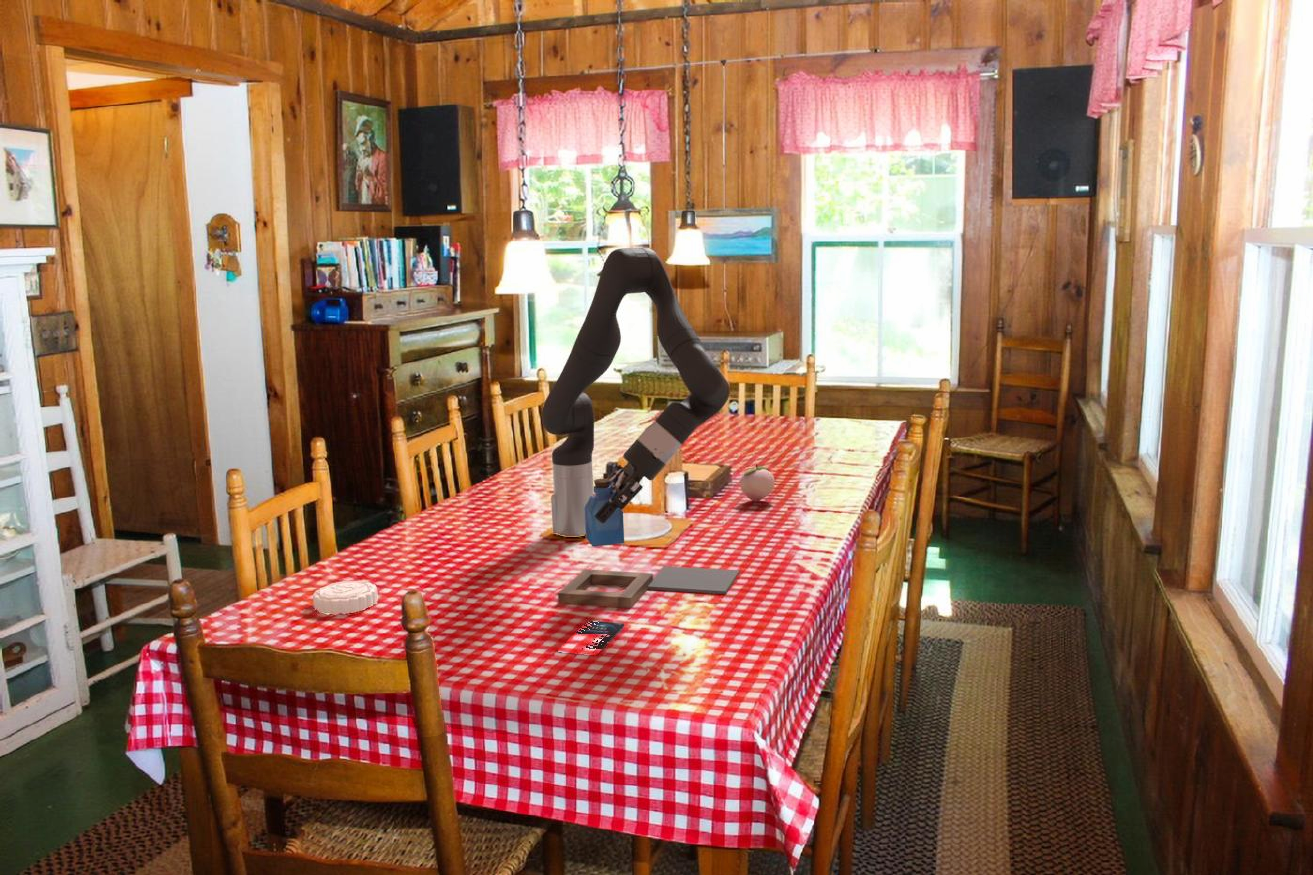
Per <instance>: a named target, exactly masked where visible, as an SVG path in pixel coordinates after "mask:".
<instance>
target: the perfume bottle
mask: <svg viewBox="0 0 1313 875" xmlns="http://www.w3.org/2000/svg"><path fill="white" fill-rule="evenodd" d="M593 484H594V485H593V492H594V494H595V495H594V496H590V498H589V500H588V502H587V504H586V506H585V525H586V536H585V539H586V540H587V541H588V542H589V544H590V545H591V546H592V547H593V548H594V547H603V546H612V545H619V544H621V545H622V544H625V528H624V524H625V523H624V512H623V509H622V510H621V509H618V510H617V509H616V510H615V511H614V513H613V514H612V515H611V516H610V517H609V518H608V519H607V521H606V522H605V523H601V522H600V521H599V520H597V519H596V517H595V515H596V514H597V512H598V511H599V510H600V509H601V508H602V507H603V506H604V504H605V503H606V502H608V500H609V498H610V497H611V494H610V492H611V491H612V489H611V485H610V479H607V478H596V479H593ZM608 503H609V502H608Z"/></svg>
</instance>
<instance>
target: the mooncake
mask: <svg viewBox="0 0 1313 875" xmlns="http://www.w3.org/2000/svg"><path fill="white" fill-rule="evenodd" d="M312 601H313V602H312V603H313V608H314V607H315V609H314V611H315V610H316V609H317V610H318V611H319V612H324V613H332V614H339V613H342V614H346V613H350V612H351V613H353V612H357V611H361V610H365V609H366V608H368V607H371V606H373V604H376V605H377V604H378V602H379V596H378V588H377V586H376V584H373V583H371V582H369V581H363V580H352V581H351V580H347V581H346V580H342V581H339V582H333V583H330V584H328V585H326V586H323V587H320V588H318V589H317V590H315V591H314V593H313V594H312ZM377 601H378V602H377ZM373 607H374V606H373Z"/></svg>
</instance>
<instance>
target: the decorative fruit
mask: <svg viewBox="0 0 1313 875" xmlns="http://www.w3.org/2000/svg"><path fill="white" fill-rule="evenodd" d="M755 465H756V466H755V468H749V469H746V470H745V471H744V473H743V474H742V475H741V477H740V479H739V487H740V490H741V492H742V494H744V495H745V496H746V497H747V498H748V499H750V500H751V501H752V502H755V503H759V502H760V501H761V500H763V499H765V498H767V497H768V496H769V495H770V494H772V492H773V491H774V489H775V477H774V475H773V473H772V472H770V470H769V468H768V467H766V466H758V464H757V463H756V464H755Z"/></svg>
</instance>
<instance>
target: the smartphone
mask: <svg viewBox="0 0 1313 875" xmlns="http://www.w3.org/2000/svg"><path fill="white" fill-rule="evenodd" d="M588 621H589V622H590V623H592V624H590V623H588V622H587V621H586V622H587V623H588V624H590V625H591V626H592V627H590V626H587V624H586V623H585V622H584V623H585V624H586V625H585V624H584V623H583V624H584V626H586V627H587V628H582V627H581V626H580V627H581V628H582V629H584V630H585V631H584V630H581V629H580V630H579V631H581V632H582V633H581V632H578V631H577V630H576V631H577V632H576V631H575V632H576V633H578V634H607V635H610V636H609V637H606V636H607V635H606V636H605V637H604V636H603V635H602V636H601V637H604V638H603V639H602V638H599V639H602V640H601V641H600V642H599V644H598V643H595V644H594V645H597V644H598V646H593V645H590V646H593V648H590V647H588V646H586V648H589V649H595V648H596V649H603V648H604V647H605V646H606V645H607V644H608V643H607V642H610V640H612V641H613V640H614V638H615V637H616V636H617V635H619V634H620V632H622V631H623V629H624V628H625V627H624V626H626V625H625V624H624V623H623V622H612V621H600V620H597V621H598V622H599V623H598V622H593V621H594V620H588ZM594 623H595V624H596V625H594ZM597 625H598V626H597ZM593 627H594V628H593ZM623 627H624V628H623ZM588 628H589V629H590V630H589V629H588ZM622 628H623V629H622ZM616 634H617V635H616ZM614 636H615V637H614ZM613 637H614V638H613ZM594 640H595V639H594ZM602 641H604V642H602ZM596 642H598V640H597V641H596ZM592 643H594V642H592ZM610 643H611V642H610ZM601 644H602V645H601ZM587 645H588V644H587ZM608 645H609V644H608ZM608 645H607V646H608ZM607 646H606V647H607ZM606 647H605V648H606ZM605 648H604V649H605ZM582 649H583V648H582ZM604 649H603V650H604Z"/></svg>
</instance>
